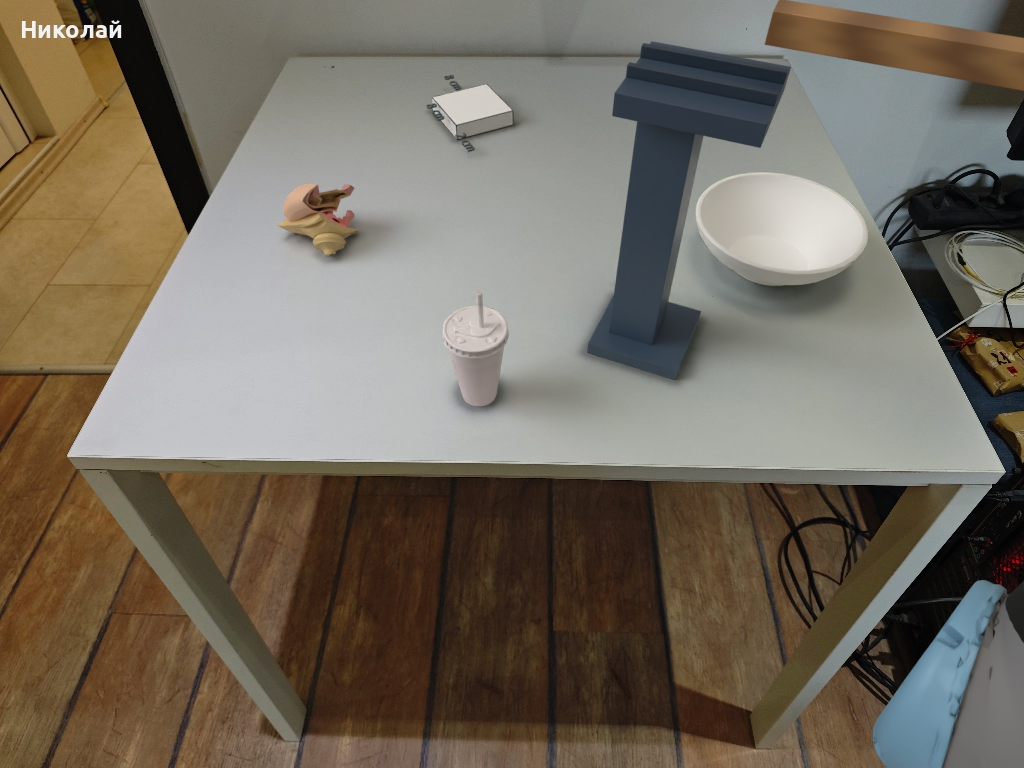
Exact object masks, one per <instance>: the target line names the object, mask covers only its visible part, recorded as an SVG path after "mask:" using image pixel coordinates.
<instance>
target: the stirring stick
mask: <svg viewBox="0 0 1024 768" xmlns="http://www.w3.org/2000/svg"><path fill="white" fill-rule="evenodd" d="M764 46H768V47H775V48H781V49H786V50H792V51H797V52H802V53H803V52H804V53H809V54H815V55H820V56H826V57H831V58H837V59H843V60H847V61H854V62H860V63H865V64H870V65H876V66H882V67H889V68H893V69H899V70H905V71H910V72H916V73H922V74H928V75H934V76H939V77H943V78H949V79H955V80H962V81H967V82H971V83H972V82H973V83H976V84H977V83H978V84H984V85H989V86H995V87H999V88H1000V87H1001V88H1007V89H1011V90H1018V91H1023V92H1024V37H1019V36H1014V35H1007V34H1002V33H1001V34H1000V33H996V32H995V33H994V32H989V31H982V30H976V29H970V28H963V27H957V26H951V25H946V24H945V25H944V24H938V23H933V22H926V21H920V20H914V19H907V18H900V17H896V16H895V17H894V16H889V15H882V14H877V13H869V12H864V11H858V10H851V9H845V8H840V7H839V8H838V7H832V6H826V5H820V4H814V3H808V2H801V1H794V0H778V1H777V3H776V5H775V7H774V9H773V11H772V14H771V18H770V22H769V24H768V30H767V33H766V37H765V41H764Z"/></svg>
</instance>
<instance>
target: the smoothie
mask: <svg viewBox="0 0 1024 768" xmlns="http://www.w3.org/2000/svg"><path fill="white" fill-rule="evenodd" d="M475 298H476V305H469V306H464V307H462V308H459V309H457V310H454V311H453V312H451V314H449V315H448V316H447V318H446V319H445V320H444V322H443V325H442V338H441V339H442V341H443V344H444V346H445V347H446V348H447V350H448V351H449V356H450V357H451V362H452V365H453V368H454V372H455V375H456V379H457V382H458V386H459V389H460V392H461V396H462V399H463V400H464V401H465V402H466V404H468V405H470V406H472V407H485V406H489V405H490V404H492V403H493V402H494V401H495V400H496V398H497V396H498V390H499V389H498V388H499V382H500V375H501V370H502V369H501V368H502V362H503V358H504V357H503V356H504V350H505V346H506V344H507V343H508V340H509V336H510V331H509V323H508V320H507V319H506V317H505V316H504V315H503V314H502V313H501V312H500V311H498V310H497V309H494V308H493V307H492V308H491V307H489V306H485V305H484V302H483V299H484V298H483V291H481V290H477V291H476V292H475Z"/></svg>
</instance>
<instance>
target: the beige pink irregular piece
mask: <svg viewBox="0 0 1024 768" xmlns="http://www.w3.org/2000/svg"><path fill="white" fill-rule="evenodd" d="M354 191H355V186H353V185H351V184H345V183H344V184H343V185H342V186H341V189H338V188H335V189H333V190H332V189H331V190H327V191H321V192H320V188H319V184H318V183H304V184H300V185H298V186H296V187H295V188H293V190H291V191H290V192H289V194H288V195H287V197H286V198H285V200H284V202H283V206H282V209H283V210H282V212H283V215H284V217H285V219H284V220H283V221H281V222H280V223H278V224H277V227H279V228H281V229H283V230H285V231H287V232H290V233H293V234H298V235H303V236H309V237H310V238H312V239H313V240H312V244H313V246H314V248H315V249H316V250H318V251H321V252H323V254H324V256H325V257H330V256H332V255H336V254H337V252H338V251H341V250H343V249H345V245H346V244H347V241H346V240H345V239H346V238H348V237H349V236H351V235H354V234H356V233H359V231H360V230H359V229H356V228H352V227H349V226H350V225H351V223H352V221H354V219H355V213H354V212H353V211H352V210H350V209H347V210H346V213H345V216H342V218H341V217H337V216H336V215H335V214H334V212H335V213H337V212H338V209H339V206H340V203H341V200H342V199H345V198H347V197H350V196H351V195H352V193H353V192H354Z"/></svg>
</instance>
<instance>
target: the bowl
mask: <svg viewBox="0 0 1024 768" xmlns="http://www.w3.org/2000/svg"><path fill="white" fill-rule="evenodd" d="M695 222H696V227H697V229H698V233H699V234H700V238H701V239H702V241H703V243H704V244H705V246H706V247H707V249H708V250H709V252H710V253H711V255H713V256H714V258H716V259H717V261H719V262H720V263H722V264H723V265H724V266H726V267H727V268H728V269H730V270H732V271H734V272H735V273H736V274H738V275H739V276H740V277H742V278H744V279H746V280H747V281H750V282H753V283H755V284H759V285H762V286H769V287H770V286H771V287H782V286H802V285H809V284H814V283H818V282H821V281H823V280H827V279H829V278H832V277H834V276H836V275H838V274H839V273H841V272H843V271H845V270H846V269H848V268H849V267H850V266H851V265H852V264H853V263H854V262H855V261H856V260H857V259H858V258H860V256H861V255H862V254H863V252H864V250H865V248H866V246H867V245H868V241H869V240H868V239H869V230H868V226H867V222H866V221H865V219H864V217H863V215H862V214H861V212H860V211H859V209H858V208H856V206H855V205H854V204H853V203H852V202H851V201H850V200H848V199H847V198H845V197H844V195H841V194H840V192H839V193H838V192H836V191H835V190H833V189H832V188H830V187H828V186H826V185H824V184H821V183H819V182H816V181H814V180H811V179H809V178H808V179H807V178H804V177H801V176H797V175H792V174H788V173H779V172H769V171H765V172H764V171H763V172H761V171H759V172H757V171H756V172H754V171H753V172H747V173H746V172H745V173H738V174H734V175H731V176H728V177H724V178H722V179H720V180H718V181H716V182H714V183H713V184H711V185H710V186H709V187H707V188H706V189H705V190H704V191H703V192H702V193H701V195H700V196H699V198H698V200H697V203H696V205H695Z"/></svg>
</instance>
